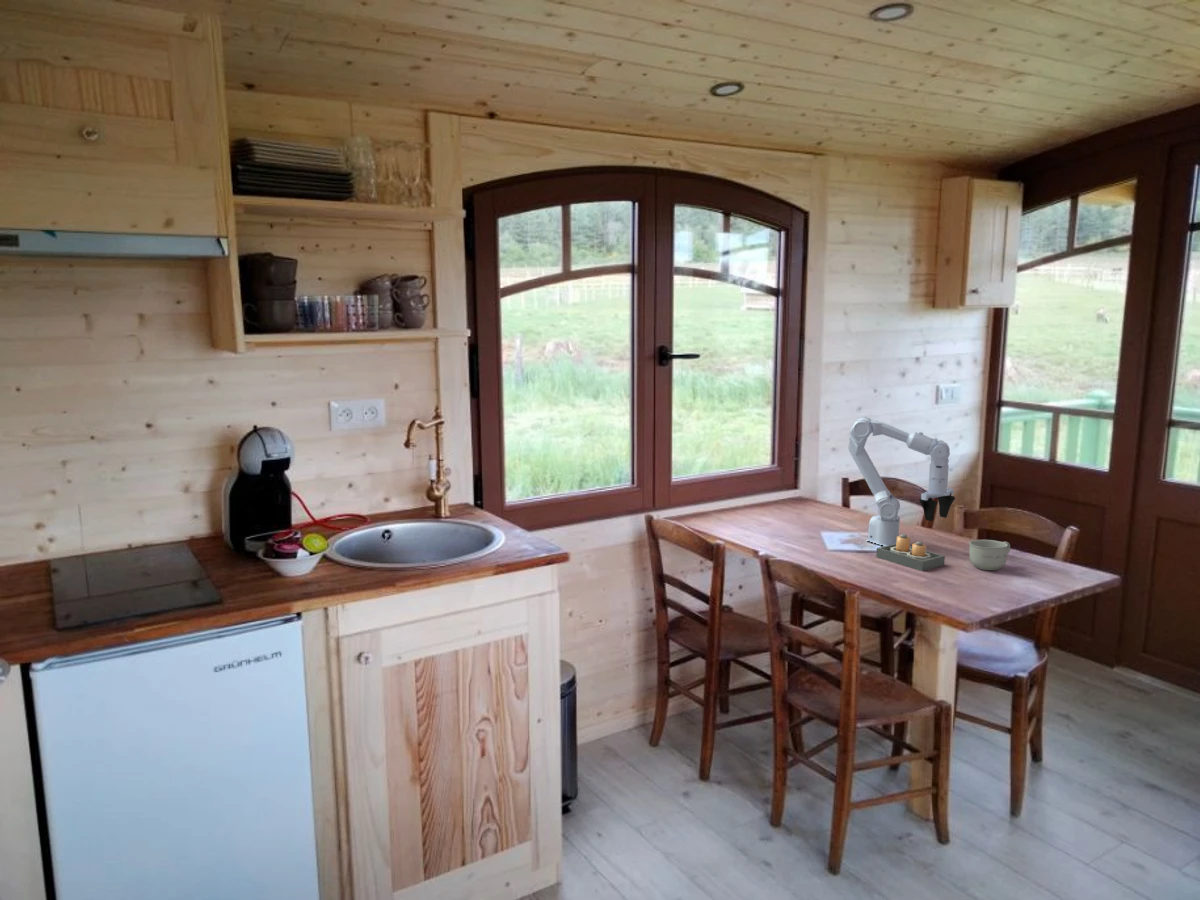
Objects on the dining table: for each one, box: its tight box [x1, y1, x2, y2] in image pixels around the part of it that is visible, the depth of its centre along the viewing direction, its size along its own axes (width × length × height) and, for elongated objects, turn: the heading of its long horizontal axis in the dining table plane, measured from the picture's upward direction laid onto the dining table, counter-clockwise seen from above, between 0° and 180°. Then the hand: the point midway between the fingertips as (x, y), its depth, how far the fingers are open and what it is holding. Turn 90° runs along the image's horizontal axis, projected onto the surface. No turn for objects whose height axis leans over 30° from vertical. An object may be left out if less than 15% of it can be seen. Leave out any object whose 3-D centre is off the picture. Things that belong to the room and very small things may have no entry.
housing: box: [875, 541, 946, 572], centre depth 261 cm, size 17×11×7 cm, turn 33°
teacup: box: [968, 539, 1011, 571], centre depth 255 cm, size 14×11×8 cm
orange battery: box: [896, 533, 911, 552], centre depth 263 cm, size 4×4×7 cm
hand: (936, 518), depth 273 cm, fingers open, 7 cm apart
